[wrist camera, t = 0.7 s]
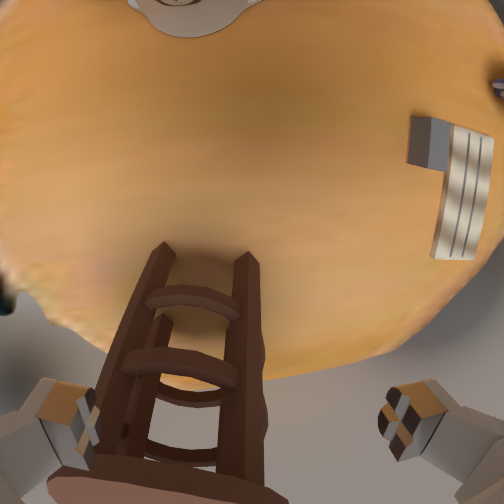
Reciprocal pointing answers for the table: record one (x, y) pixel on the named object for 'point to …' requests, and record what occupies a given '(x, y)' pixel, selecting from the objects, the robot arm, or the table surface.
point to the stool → (178, 401)
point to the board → (463, 195)
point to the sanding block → (428, 143)
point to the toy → (499, 87)
